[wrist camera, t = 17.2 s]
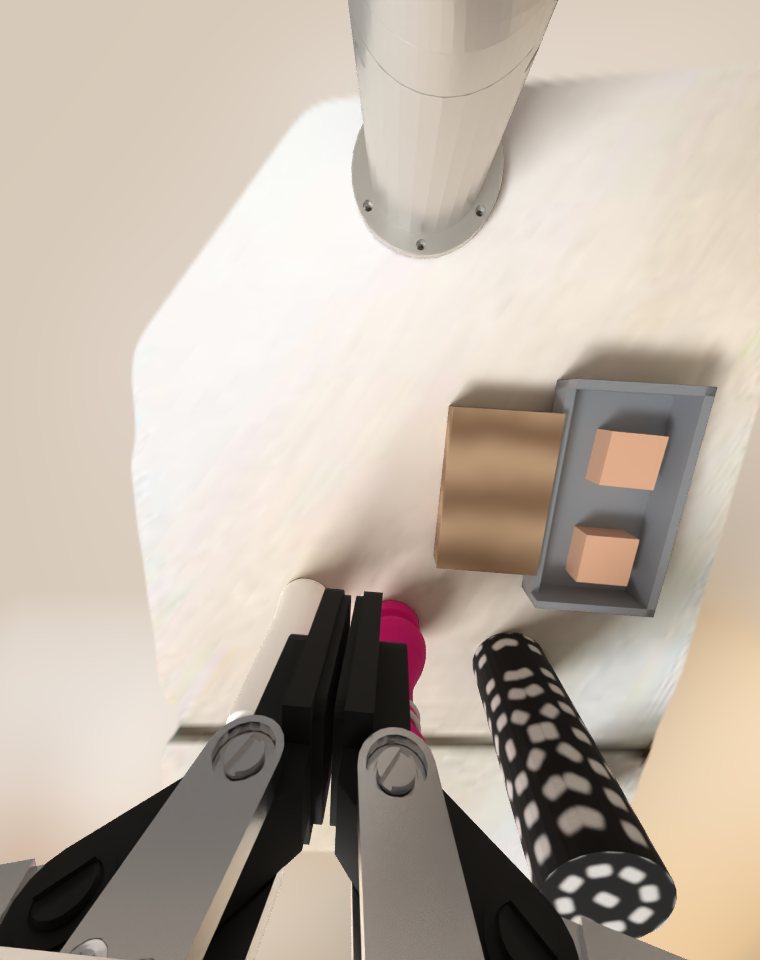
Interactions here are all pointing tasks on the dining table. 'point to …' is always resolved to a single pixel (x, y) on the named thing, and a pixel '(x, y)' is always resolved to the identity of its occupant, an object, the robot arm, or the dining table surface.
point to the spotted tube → (567, 797)
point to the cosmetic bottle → (278, 640)
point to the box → (618, 490)
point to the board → (496, 489)
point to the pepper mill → (404, 628)
